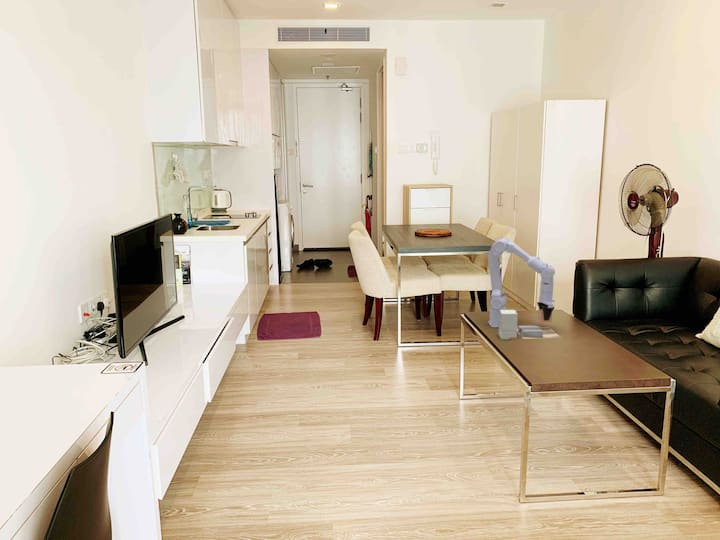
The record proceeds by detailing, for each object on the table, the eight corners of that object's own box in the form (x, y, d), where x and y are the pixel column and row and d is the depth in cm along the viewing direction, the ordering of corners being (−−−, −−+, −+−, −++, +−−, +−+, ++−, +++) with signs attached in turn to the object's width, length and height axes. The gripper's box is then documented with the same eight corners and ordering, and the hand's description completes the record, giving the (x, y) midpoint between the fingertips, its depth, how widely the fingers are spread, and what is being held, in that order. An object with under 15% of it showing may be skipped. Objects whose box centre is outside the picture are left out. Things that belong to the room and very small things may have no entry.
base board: (512, 328, 274) (513, 321, 273) (549, 328, 274) (549, 321, 273) (523, 340, 256) (523, 332, 256) (561, 340, 256) (562, 332, 256)
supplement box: (513, 335, 265) (515, 309, 262) (516, 340, 257) (518, 313, 255) (498, 334, 265) (499, 309, 263) (500, 339, 258) (501, 313, 256)
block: (537, 319, 271) (538, 309, 270) (548, 319, 271) (548, 309, 270) (541, 321, 266) (541, 311, 265) (551, 322, 266) (552, 311, 265)
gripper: (560, 294, 259) (558, 322, 261) (549, 287, 273) (548, 314, 275) (545, 294, 259) (543, 322, 261) (535, 287, 273) (533, 314, 275)
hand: (544, 318), depth 268 cm, fingers closed on block, 5 cm apart
